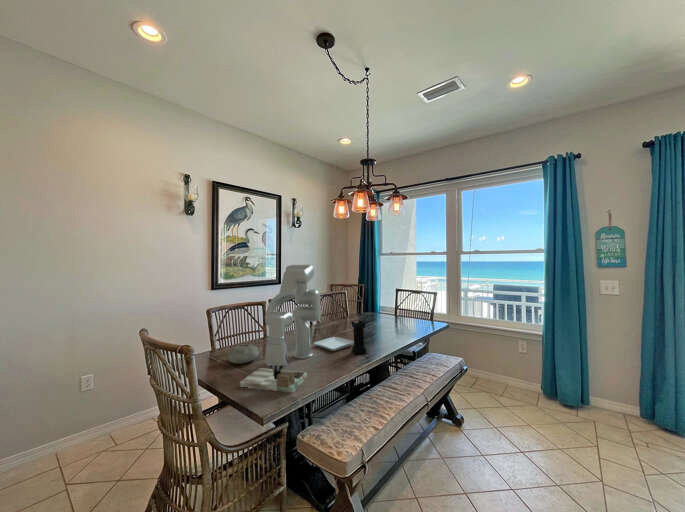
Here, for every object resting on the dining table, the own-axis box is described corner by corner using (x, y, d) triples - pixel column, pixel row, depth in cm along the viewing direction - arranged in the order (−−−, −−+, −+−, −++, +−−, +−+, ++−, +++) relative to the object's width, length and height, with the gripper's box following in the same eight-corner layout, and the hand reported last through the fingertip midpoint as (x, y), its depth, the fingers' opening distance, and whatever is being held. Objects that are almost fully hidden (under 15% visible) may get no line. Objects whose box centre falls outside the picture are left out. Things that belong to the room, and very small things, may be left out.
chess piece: (367, 353, 182) (366, 322, 182) (356, 355, 179) (355, 324, 179) (362, 350, 189) (361, 320, 189) (351, 351, 186) (350, 321, 186)
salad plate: (312, 347, 199) (312, 342, 199) (335, 340, 214) (334, 335, 214) (333, 354, 184) (333, 348, 184) (355, 346, 199) (355, 341, 199)
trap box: (259, 372, 156) (259, 367, 156) (307, 376, 149) (307, 372, 149) (240, 387, 138) (239, 382, 139) (292, 393, 131) (292, 387, 131)
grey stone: (245, 354, 186) (245, 339, 186) (265, 359, 176) (264, 343, 177) (221, 363, 170) (221, 347, 170) (241, 369, 161) (241, 351, 161)
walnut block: (283, 380, 139) (283, 370, 139) (294, 382, 137) (294, 371, 137) (277, 386, 133) (276, 375, 133) (288, 387, 131) (288, 376, 131)
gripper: (258, 341, 136) (259, 380, 136) (287, 343, 133) (287, 383, 132) (266, 337, 144) (267, 373, 144) (293, 339, 140) (294, 376, 140)
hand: (277, 378), depth 138 cm, fingers closed
